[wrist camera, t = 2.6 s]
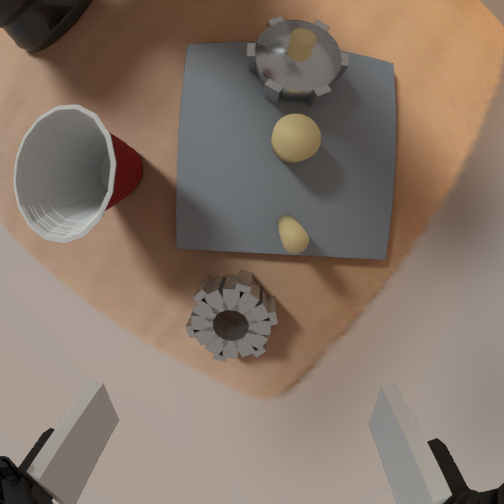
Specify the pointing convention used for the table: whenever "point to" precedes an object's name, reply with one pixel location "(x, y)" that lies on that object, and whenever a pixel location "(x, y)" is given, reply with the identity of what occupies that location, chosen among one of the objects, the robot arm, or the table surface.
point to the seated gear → (295, 63)
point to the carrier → (284, 158)
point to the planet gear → (231, 333)
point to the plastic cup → (71, 173)
